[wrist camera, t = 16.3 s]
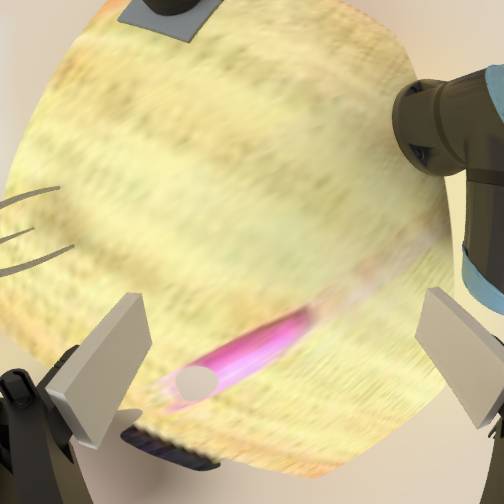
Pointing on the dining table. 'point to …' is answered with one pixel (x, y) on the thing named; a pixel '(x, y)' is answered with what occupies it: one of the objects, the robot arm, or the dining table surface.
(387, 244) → the dining table surface
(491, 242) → the robot arm
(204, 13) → the coaster mat
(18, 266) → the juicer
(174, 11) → the pen holder
